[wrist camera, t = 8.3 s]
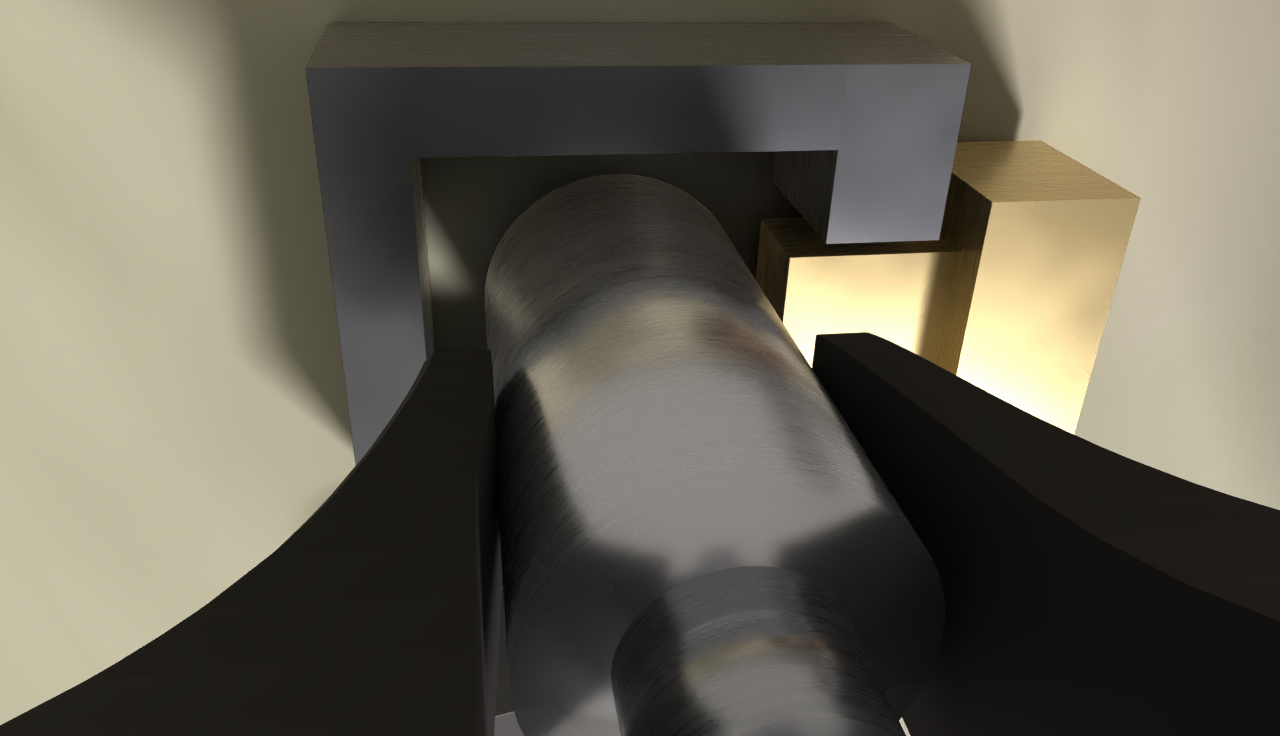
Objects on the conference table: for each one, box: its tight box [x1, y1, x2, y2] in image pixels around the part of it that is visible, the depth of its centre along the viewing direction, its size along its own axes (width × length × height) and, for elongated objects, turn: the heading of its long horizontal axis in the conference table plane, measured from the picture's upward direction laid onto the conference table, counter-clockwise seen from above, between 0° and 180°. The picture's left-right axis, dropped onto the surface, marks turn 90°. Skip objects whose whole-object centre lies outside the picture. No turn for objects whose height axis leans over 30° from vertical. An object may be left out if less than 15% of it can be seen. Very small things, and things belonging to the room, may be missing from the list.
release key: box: [756, 141, 1140, 434], centre depth 14 cm, size 4×4×2 cm
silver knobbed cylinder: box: [484, 174, 945, 736], centre depth 11 cm, size 4×4×8 cm
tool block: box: [306, 23, 971, 465], centre depth 14 cm, size 8×7×2 cm
